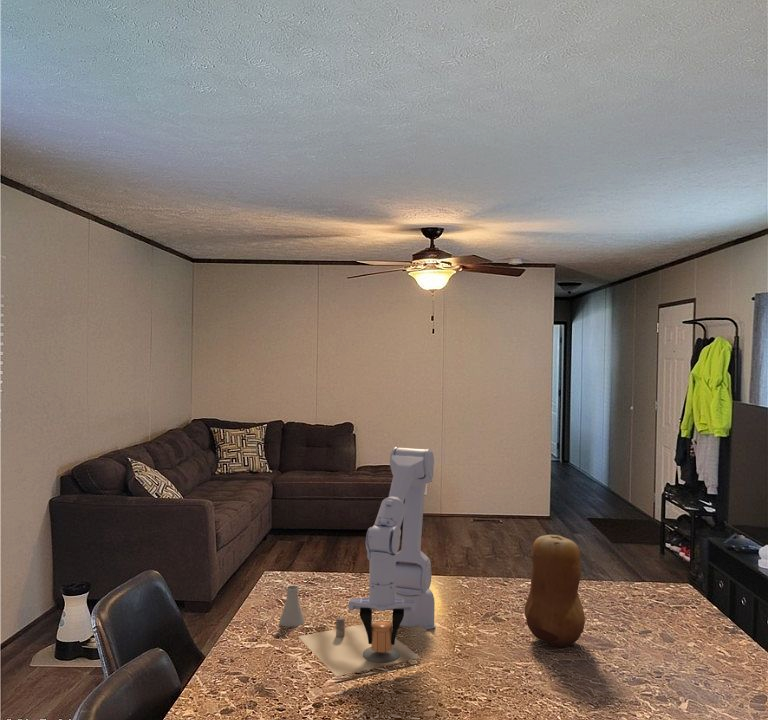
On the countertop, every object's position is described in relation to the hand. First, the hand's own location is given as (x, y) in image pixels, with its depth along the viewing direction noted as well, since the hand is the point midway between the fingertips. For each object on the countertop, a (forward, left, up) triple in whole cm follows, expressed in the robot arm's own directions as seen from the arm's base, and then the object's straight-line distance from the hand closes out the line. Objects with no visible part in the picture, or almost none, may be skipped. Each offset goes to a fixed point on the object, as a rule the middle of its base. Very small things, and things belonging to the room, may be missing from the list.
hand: (381, 642), depth 156 cm
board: (+3, -6, -4) cm, 8 cm away
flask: (+11, -26, -4) cm, 29 cm away
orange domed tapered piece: (0, 0, -1) cm, 1 cm away
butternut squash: (-41, +9, -4) cm, 42 cm away
